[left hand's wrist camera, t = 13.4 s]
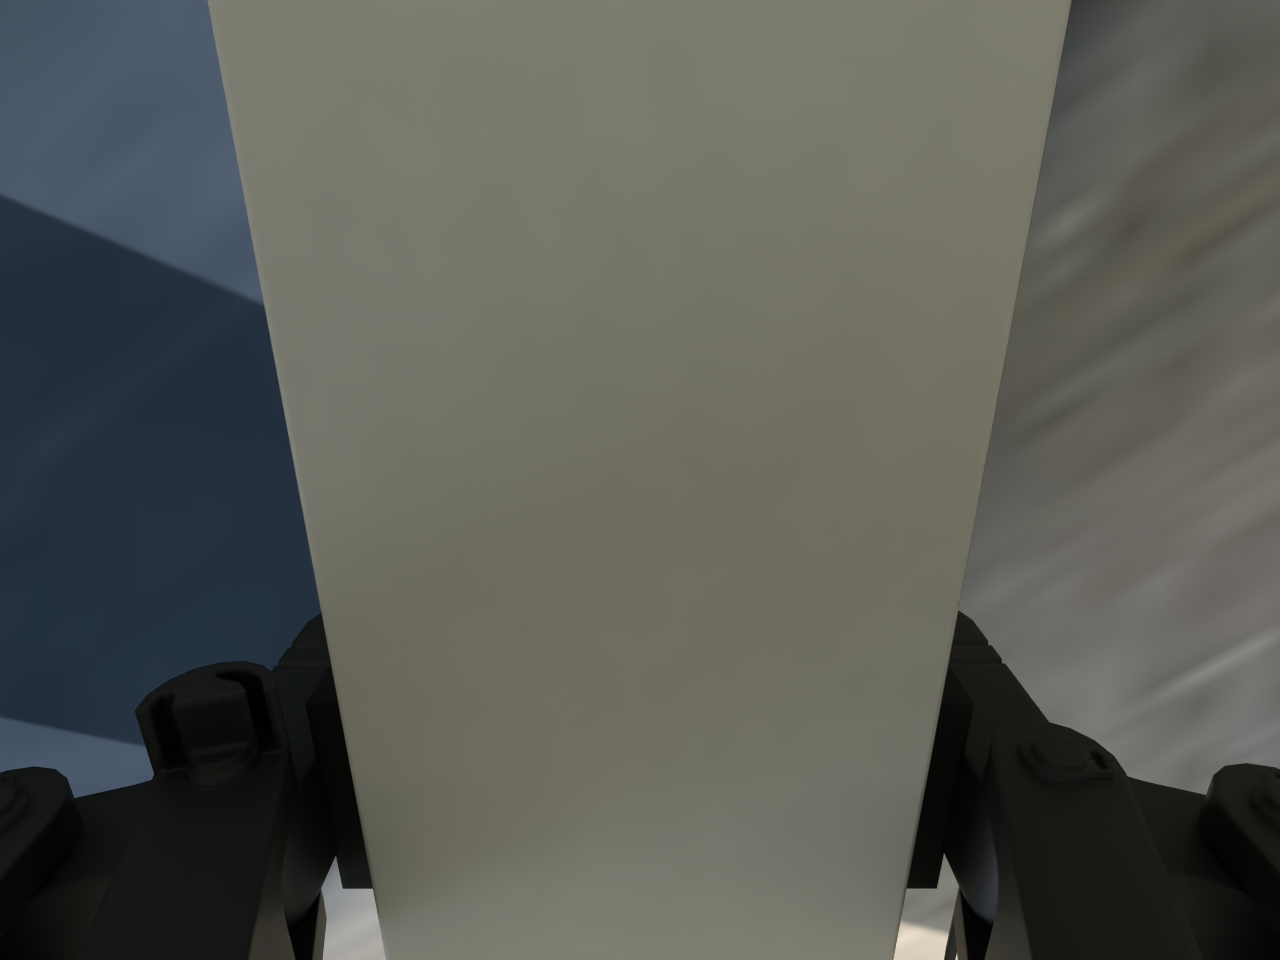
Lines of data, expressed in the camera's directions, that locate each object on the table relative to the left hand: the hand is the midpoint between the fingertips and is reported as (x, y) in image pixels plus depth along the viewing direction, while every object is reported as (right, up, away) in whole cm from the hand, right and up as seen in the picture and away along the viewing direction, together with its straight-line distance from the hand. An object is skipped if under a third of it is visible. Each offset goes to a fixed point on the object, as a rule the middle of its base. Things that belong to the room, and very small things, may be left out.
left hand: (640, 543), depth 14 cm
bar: (0, +22, -8) cm, 23 cm away
